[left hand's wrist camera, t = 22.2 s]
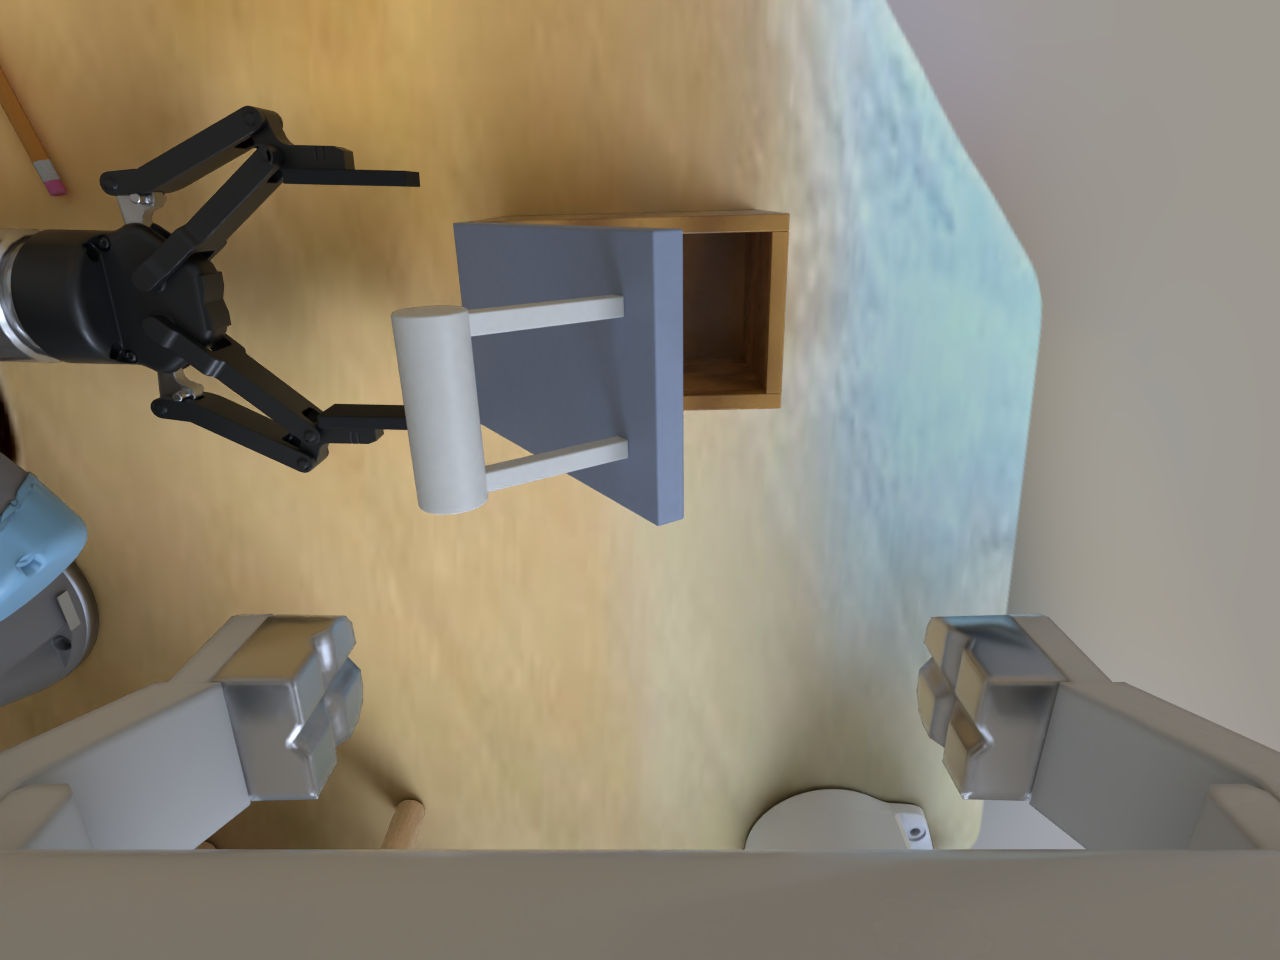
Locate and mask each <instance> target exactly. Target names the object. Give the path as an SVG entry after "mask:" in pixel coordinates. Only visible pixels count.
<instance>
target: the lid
mask: <svg viewBox="0 0 1280 960" xmlns="http://www.w3.org/2000/svg"><path fill="white" fill-rule="evenodd" d="M453 226H454V236H455V245H456V254H457V263H458V272H459V281H460V290H461V299H462V307H461V306H422V307H413V308H406V309H401V310H397V311H394V312H392V313H391V319H392V326H393V333H394V340H395V347H396V354H397V361H398V367H399V374H400V381H401V388H402V395H403V402H404V409H405V415H406V422H407V429H408V436H409V443H410V450H411V457H412V463H413V470H414V477H415V484H416V491H417V498H418V505H419V507H420V508H421V509H422V510H423V511H425V512H428V513H432V514H442V515H445V514H457V513H463V512H467V511H470V510H473V509H476V508H478V507H480V506H482V505H483V504H484V503H485V502H486V501H487V499H488V492H491V491H495V490H499V489H503V488H507V487H511V486H515V485H519V484H523V483H527V482H531V481H535V480H540V479H544V478H548V477H552V476H556V475H560V474H564V473H567V474H569V475H570V476H572V477H574V478H575V479H577V480H579V481H581V482H582V483H584V484H586V485H588V486H589V487H591V488H593V489H595V490H596V491H598V492H600V493H601V494H603V495H605V496H607V497H608V498H610V499H612V500H614V501H615V502H617V503H619V504H621V505H622V506H624V507H626V508H627V509H629V510H631V511H633V512H634V513H636V514H638V515H640V516H641V517H643V518H645V519H646V520H648V521H650V522H652V523H653V524H655V525H657V526H661V525H664V524H667V523H670V522H674V521H677V520H680V519H683V517H684V475H683V231H682V229H676V228H645V227H615V226H584V225H553V224H522V223H492V222H462V223H454V224H453ZM480 424H482V425H484V426H485V427H487V428H489V429H491V430H492V431H494V432H496V433H498V434H499V435H501V436H503V437H504V438H506V439H508V440H510V441H511V442H513V443H515V444H517V445H518V446H520V447H522V448H524V449H525V450H527V451H529V452H530V453H532V454H534V455H532V456H527V457H523V458H518V459H514V460H510V461H505V462H501V463H496V464H492V465H488V466H485V462H484V453H483V444H482V435H481V425H480Z"/></svg>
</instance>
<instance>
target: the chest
mask: <svg viewBox="0 0 1280 960" xmlns="http://www.w3.org/2000/svg"><path fill="white" fill-rule="evenodd" d="M789 217H790V215H789V214H788V213H780V212H772V211H763V210H728V211H690V212H652V213H614V214H576V215H538V216H504V217H498V218H491V219H484V220H478V221H471V222H492V223H522V224H553V225H584V226H615V227H645V228H676V229H682V231H683V411H687V410H729V409H771V408H781V392H782V370H783V348H784V327H785V305H786V284H787V262H788V240H789Z"/></svg>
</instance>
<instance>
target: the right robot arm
mask: <svg viewBox="0 0 1280 960" xmlns="http://www.w3.org/2000/svg"><path fill="white" fill-rule="evenodd" d="M282 128H283V122H282V119H281V117H280V116H279V115H278V114H277V113H276V112H274V111H270V110H266V109H261V108H257V107H252V106H245V107H242V108H241V109H239V110H237V111H235V112H234V113H232V114H230V115H229V116H227V117H225V118H223V119H222V120H220V121H218V122H217V123H215V124H213V125H211V126H210V127H208V128H206V129H205V130H203V131H201V132H199V133H198V134H196V135H194V136H193V137H191V138H189V139H187V140H186V141H184V142H182V143H181V144H179V145H177V146H175V147H174V148H172V149H170V150H169V151H167V152H165V153H163V154H162V155H160V156H158V157H157V158H155V159H153V160H151V161H150V162H148V163H146V164H145V165H143V166H141V167H139V168H138V169H129V170H119V171H109V172H105V173H103V174H102V175H101V177H100V185H101V187H102V189H103V190H104V191H105V192H106V193H107V194H109V195H112V196H116V197H117V200H118V203H119V206H120V209H121V212H122V216H123V219H124V222H125V225H124V226H123V227H121V228H120V229H118V230H115V231H99V230H43V231H40V230H37V229H5V228H0V361H10V362H40V363H56V362H68V363H94V364H138V365H143V366H146V367H149V368H151V369H153V370H155V371H157V372H158V382H159V391H160V398H158V399H155V400H154V401H152V403H151V410H152V412H153V413H154V415H156V416H157V417H160V418H164V419H172V420H180V421H188V422H192V423H194V424H196V425H198V426H201V427H203V428H205V429H207V430H209V431H212V432H214V433H216V434H218V435H220V436H223V437H225V438H227V439H229V440H231V441H234V442H236V443H238V444H240V445H243V446H245V447H247V448H249V449H251V450H254V451H256V452H258V453H260V454H262V455H265V456H267V457H269V458H271V459H273V460H276V461H278V462H280V463H282V464H284V465H287V466H289V467H291V468H293V469H295V470H298V471H300V472H303V473H306V472H309V471H311V470H312V469H313V468H315V467H316V466H317V465H318V464H319V463H321V462H322V461H323V460H324V459H325V458H327V456H328V454H329V451H328V444H329V443H350V444H352V443H353V444H359V443H360V444H370V443H372V442H375V441H377V440H378V439H379V438H380V437H381V436H382V435H383V434H384V431H383V429H392V430H408V429H407V422H406V415H405V409H404V405H363V404H334V405H332V406H331V407H330V408H328V409H327V410H325V411H324V412H323V411H322V410H320V409H319V408H318V407H316V406H315V405H314V404H312V403H311V402H310V401H308V400H307V399H306V398H304V397H303V396H302V395H300V394H299V393H298V392H296V391H295V390H294V389H292V388H291V387H290V386H288V385H287V384H286V383H284V382H283V381H282V380H280V379H279V378H278V377H276V376H275V375H274V374H272V373H271V372H270V371H268V370H267V369H266V368H264V367H263V366H262V365H260V364H259V363H258V362H257V361H255V360H254V359H253V358H251V357H250V356H249V355H247V354H246V351H245V349H244V347H243V346H241V345H240V344H239V343H237V342H236V341H235V340H233V339H232V338H231V337H229V336H228V335H227V334H226V331H227V326H229V325H231V321H230V315H229V311H228V309H227V307H226V304H225V302H224V300H223V292H224V282H223V276H222V272H217V270H216V268H215V266H214V265H213V263H212V262H211V261H210V260H211V259H212V258H213V257H214V256H215V255H216V254H217V253H218V252H219V251H220V250H221V249H222V248H223V247H224V246H225V245H226V243H227V242H226V240H227V239H228V238H229V237H230V236H231V235H232V234H233V233H234V232H235V231H236V230H237V229H238V227H239V226H240V225H241V224H242V223H243V222H244V221H245V220H246V219H247V218H248V217H249V216H250V215H251V214H252V213H253V212H254V211H255V210H256V209H257V208H258V207H259V206H260V205H261V204H262V203H263V202H264V201H265V200H266V199H267V198H268V197H269V196H270V195H271V194H272V193H273V192H274V191H275V190H276V189H277V188H278V187H279V185H280V184H281V183H282V182H283V183H285V184H320V185H364V186H409V187H420V180H419V172H410V171H385V170H355V167H354V158H353V152H352V151H350V150H347V149H345V148H342V147H336V146H307V145H294V144H292V143H291V142H290V141H289V140H288V139H287V137H286V135H285V133H284V131H283V129H282ZM253 148H257V150H256V151H255V152H254V153H253V154H252V155H251V156H250V157H249V158H248V159H247V160H246V162H245V163H244V164H243V165H242V166H241V167H240V168H239V169H238V170H237V171H236V172H235V173H234V174H233V175H232V176H231V177H230V178H229V179H228V180H227V182H226V183H225V184H224V185H223V186H222V187H221V188H220V189H219V190H218V191H217V192H216V193H215V194H214V195H213V196H212V197H211V198H210V199H209V200H208V202H207V203H206V204H205V205H204V206H203V207H202V208H201V209H200V210H199V211H198V212H197V213H196V214H195V215H194V216H193V217H192V218H191V219H190V220H189V222H188V223H187V224H185V225H184V226H182V227H180V228H178V229H177V230H175V231H174V232H173V233H172V234H171V233H170V232H168V231H167V230H165V229H164V228H162V227H161V226H159V225H157V224H154V223H153V222H152V214H153V212H154V211H155V210H157V209H159V208H161V207H162V206H163V204H164V203H165V202H166V196H165V193H171V192H174V191H177V190H180V189H182V188H184V187H186V186H188V185H190V184H191V183H193V182H195V181H197V180H198V179H200V178H202V177H204V176H205V175H207V174H209V173H211V172H212V171H214V170H216V169H218V168H219V167H221V166H223V165H225V164H226V163H228V162H230V161H232V160H233V159H235V158H237V157H239V156H240V155H242V154H244V153H246V152H247V151H249V150H251V149H253ZM209 349H211V350H212V351H211V350H209ZM189 365H192V366H193V367H194V368H196V369H197V370H198V371H200V372H201V373H203V374H205V375H207V376H212V377H215V378H217V379H218V380H220V381H221V382H222V383H224V384H225V385H226V386H228V387H229V388H230V389H232V390H233V391H234V392H236V393H237V394H239V395H240V396H241V397H243V398H244V399H245V400H247V401H248V402H249V403H251V404H252V405H254V406H255V407H256V408H258V409H259V410H260V411H262V412H263V413H264V414H266V415H267V416H269V417H270V418H271V419H269V418H267V417H265V416H263V415H261V414H259V413H256V412H254V411H252V410H250V409H248V408H246V407H244V406H241V405H239V404H237V403H235V402H233V401H231V400H228V399H226V398H224V397H221V396H219V395H216V394H213V393H208V392H203V391H204V387H203V386H202V385H201V384H197V383H195V382H193V381H190V380H189V379H187V378H186V377H185V375H184V373H183V369H185V368H187V367H188V366H189ZM272 419H273V420H272ZM87 537H88V533H87V527H86V524H85V523H84V521H83V520H82V519H81V518H80V517H79V516H78V515H77V514H76V513H75V512H74V511H73V510H71V509H70V508H69V507H68V506H67V505H66V504H65V503H64V502H63V501H61V500H60V499H59V498H58V497H57V496H56V495H55V494H54V493H53V492H51V491H50V490H49V489H48V488H47V487H46V486H45V485H44V484H43V483H41V482H40V481H39V480H38V478H37V477H36V476H35V475H34V474H32V473H31V472H28V473H27V472H26V471H25V470H23V469H22V468H21V467H19V466H18V465H17V464H15V463H14V462H13V461H11V460H10V459H9V458H7V457H6V456H5V455H3V454H2V453H1V452H0V707H1V706H4V705H6V704H9V703H11V702H14V701H16V700H19V699H21V698H24V697H26V696H29V695H31V694H34V693H36V692H39V691H41V690H43V689H45V688H47V687H49V686H51V685H53V684H54V683H56V682H57V681H59V680H61V679H62V678H64V677H65V676H67V675H68V674H69V673H70V672H71V671H73V670H74V669H75V668H76V667H77V666H78V665H80V664H81V663H82V662H83V661H84V660H85V659H86V657H87V656H88V655H89V653H90V652H91V650H92V648H93V646H94V644H95V641H96V638H97V634H98V626H99V618H98V610H97V605H96V601H95V598H94V595H93V593H92V590H91V588H90V586H89V584H88V582H87V580H86V579H85V577H84V575H83V574H82V572H81V571H80V570H79V568H78V567H77V566H76V564H75V563H74V562H73V561H74V559H75V558H76V557H77V556H78V555H79V553H80V552H81V551H82V549H83V547H84V546H85V543H86V541H87Z"/></svg>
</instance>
